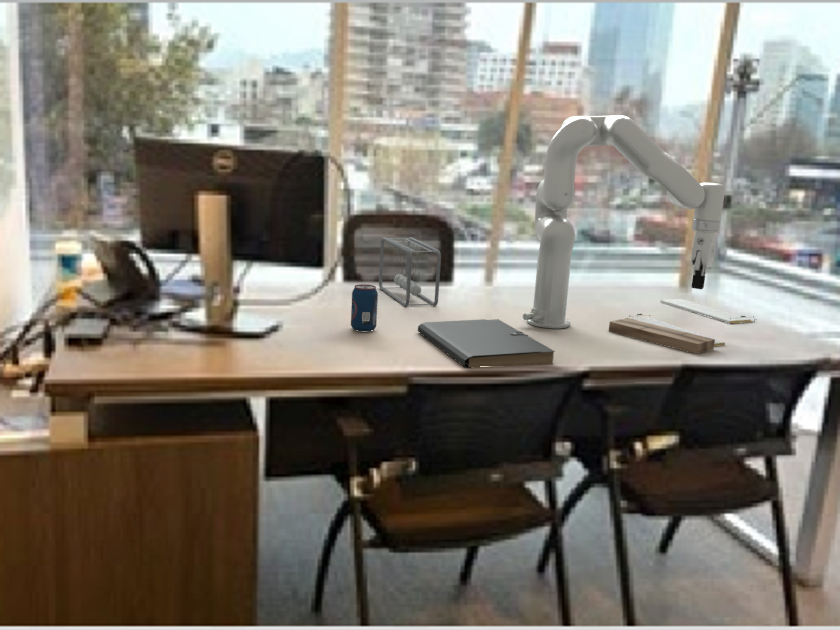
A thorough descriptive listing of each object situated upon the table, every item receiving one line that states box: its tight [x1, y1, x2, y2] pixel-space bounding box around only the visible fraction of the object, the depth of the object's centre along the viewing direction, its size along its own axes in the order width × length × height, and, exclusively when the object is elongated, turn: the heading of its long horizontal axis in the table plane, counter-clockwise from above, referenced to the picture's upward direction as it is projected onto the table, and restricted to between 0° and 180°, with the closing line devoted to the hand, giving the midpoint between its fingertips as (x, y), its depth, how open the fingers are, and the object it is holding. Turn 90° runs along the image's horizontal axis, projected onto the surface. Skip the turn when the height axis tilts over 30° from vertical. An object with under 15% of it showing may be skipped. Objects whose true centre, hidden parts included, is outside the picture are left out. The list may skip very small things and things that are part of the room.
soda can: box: [350, 283, 379, 331], centre depth 230 cm, size 7×7×12 cm
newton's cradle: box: [378, 236, 442, 308], centre depth 273 cm, size 30×10×18 cm, turn 19°
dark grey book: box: [417, 318, 556, 368], centre depth 220 cm, size 33×4×24 cm
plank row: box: [608, 317, 715, 355], centre depth 239 cm, size 9×28×3 cm, turn 43°
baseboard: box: [628, 313, 726, 347], centre depth 248 cm, size 30×3×10 cm
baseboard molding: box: [659, 298, 757, 324], centre depth 280 cm, size 31×3×12 cm
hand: (697, 288), depth 250 cm, fingers closed
